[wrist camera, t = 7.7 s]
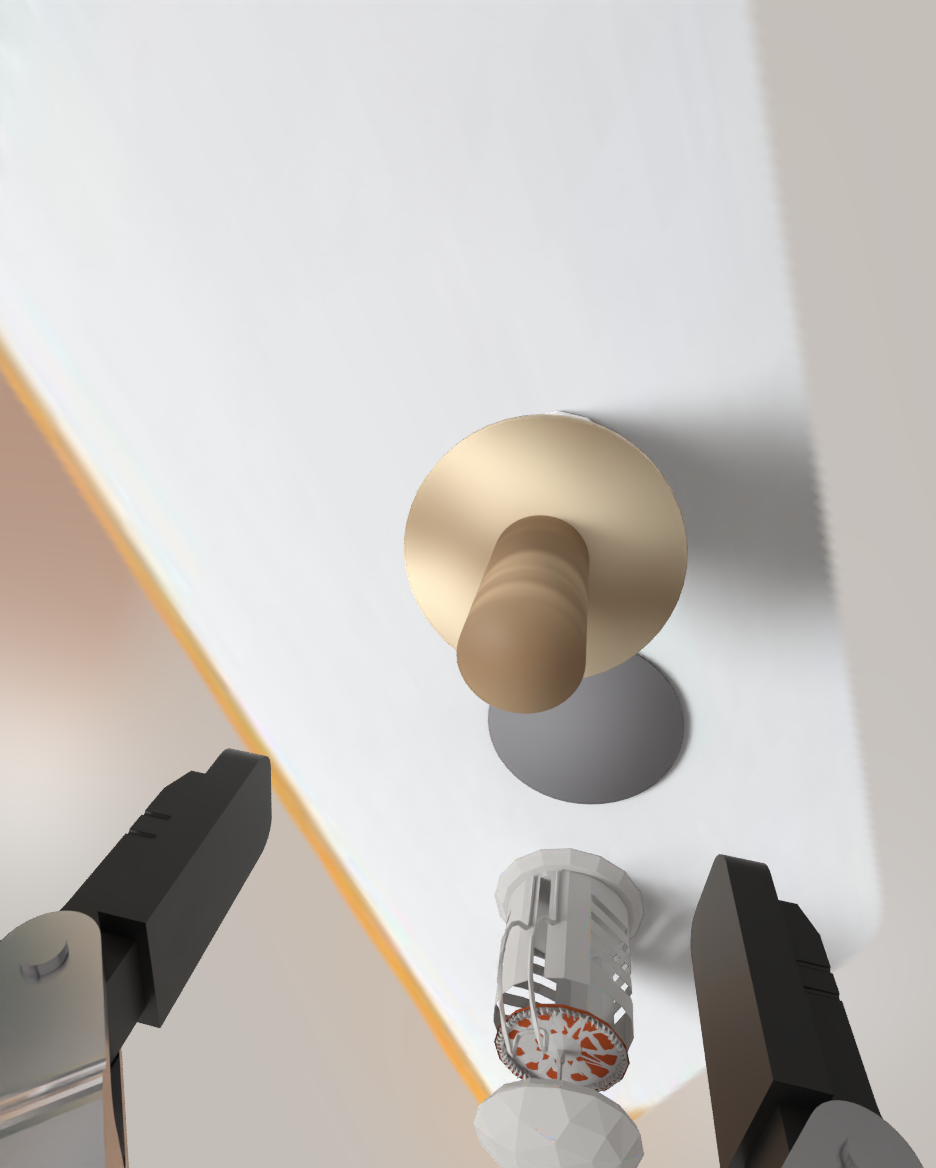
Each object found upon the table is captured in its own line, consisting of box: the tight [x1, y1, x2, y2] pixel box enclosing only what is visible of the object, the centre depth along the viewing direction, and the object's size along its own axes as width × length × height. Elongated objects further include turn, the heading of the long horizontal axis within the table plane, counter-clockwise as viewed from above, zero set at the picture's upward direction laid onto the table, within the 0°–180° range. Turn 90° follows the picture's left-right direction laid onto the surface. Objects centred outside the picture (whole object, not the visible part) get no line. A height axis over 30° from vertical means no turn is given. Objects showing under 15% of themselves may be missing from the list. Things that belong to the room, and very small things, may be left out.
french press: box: [473, 849, 644, 1168], centre depth 34 cm, size 10×12×25 cm
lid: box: [404, 414, 688, 714], centre depth 21 cm, size 10×10×8 cm
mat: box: [488, 654, 684, 804], centre depth 39 cm, size 11×11×1 cm
